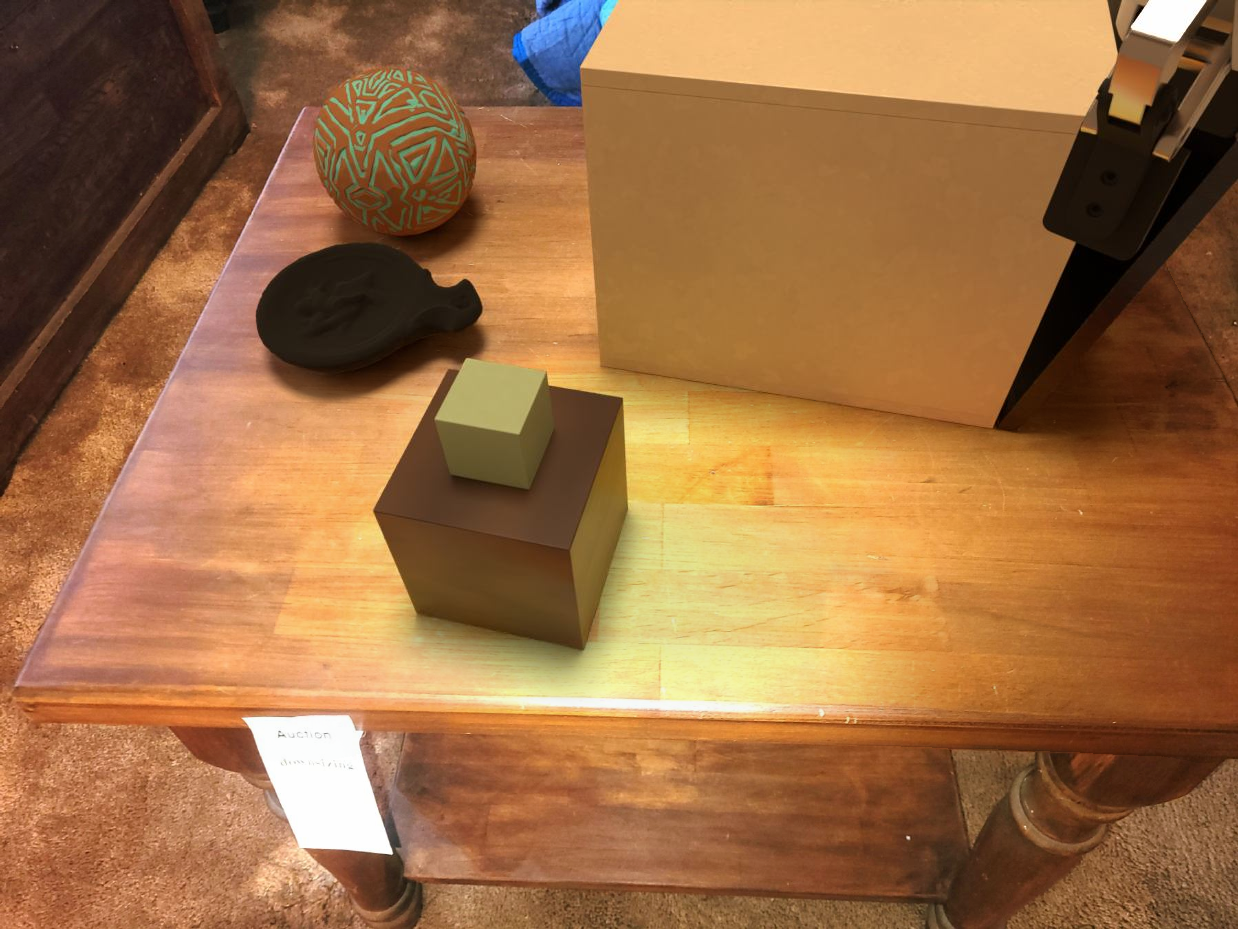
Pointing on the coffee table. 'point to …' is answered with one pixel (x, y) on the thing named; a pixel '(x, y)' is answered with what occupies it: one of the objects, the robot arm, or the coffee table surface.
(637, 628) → the coffee table surface
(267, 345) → the oil lamp
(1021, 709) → the coffee table surface
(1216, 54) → the robot arm
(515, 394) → the block
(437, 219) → the decorative sphere
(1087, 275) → the oven door
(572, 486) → the stand
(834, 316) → the oven
